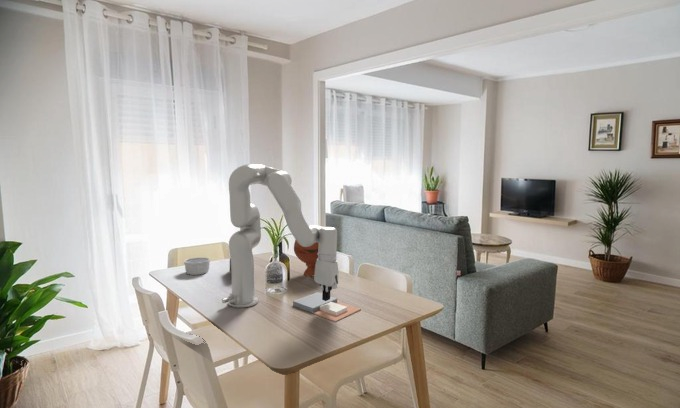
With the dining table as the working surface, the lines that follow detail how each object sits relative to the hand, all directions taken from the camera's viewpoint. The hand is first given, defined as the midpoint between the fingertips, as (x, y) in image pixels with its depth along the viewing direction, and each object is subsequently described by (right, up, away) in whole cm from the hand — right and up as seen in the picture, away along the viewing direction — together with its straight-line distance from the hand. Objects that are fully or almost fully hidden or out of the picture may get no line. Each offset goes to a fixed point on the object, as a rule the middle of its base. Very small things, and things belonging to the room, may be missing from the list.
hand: (326, 299), depth 161 cm
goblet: (-10, +2, +49) cm, 50 cm away
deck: (-5, -3, +5) cm, 8 cm away
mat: (+5, -4, -3) cm, 7 cm away
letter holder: (-47, +1, +44) cm, 65 cm away
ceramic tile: (+3, -3, -3) cm, 5 cm away
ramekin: (-72, +2, +50) cm, 88 cm away
